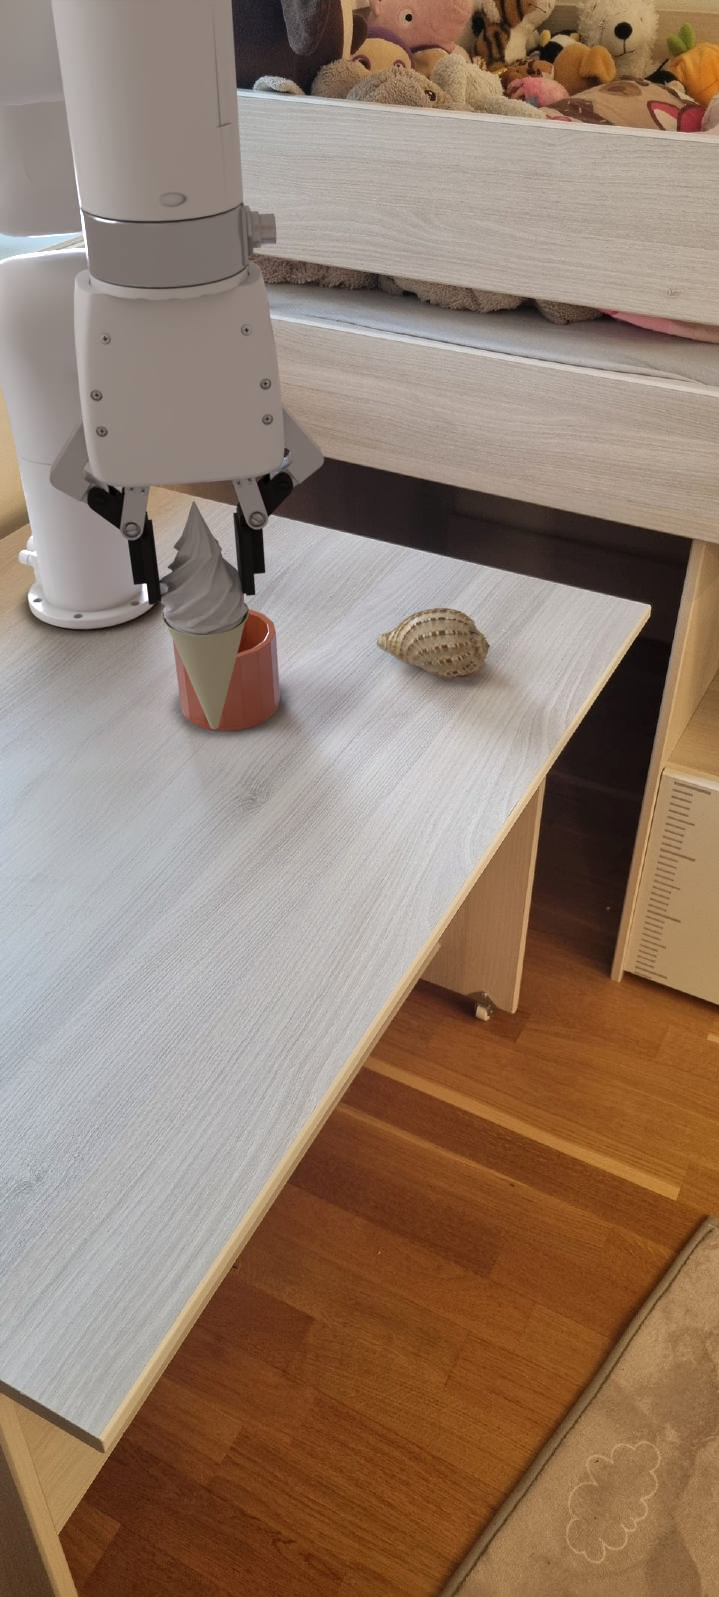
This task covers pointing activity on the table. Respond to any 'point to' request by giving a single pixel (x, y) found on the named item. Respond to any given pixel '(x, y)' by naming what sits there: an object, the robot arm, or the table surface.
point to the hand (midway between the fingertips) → (200, 585)
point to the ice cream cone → (204, 613)
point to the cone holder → (241, 680)
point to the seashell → (438, 643)
